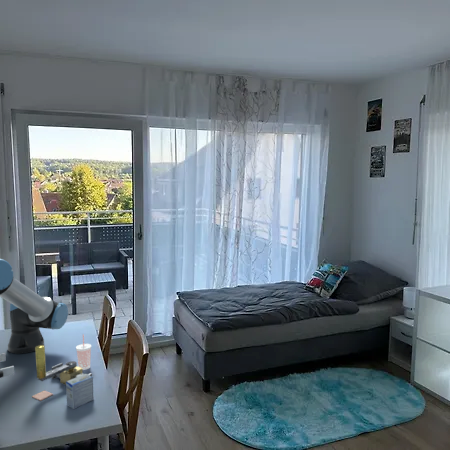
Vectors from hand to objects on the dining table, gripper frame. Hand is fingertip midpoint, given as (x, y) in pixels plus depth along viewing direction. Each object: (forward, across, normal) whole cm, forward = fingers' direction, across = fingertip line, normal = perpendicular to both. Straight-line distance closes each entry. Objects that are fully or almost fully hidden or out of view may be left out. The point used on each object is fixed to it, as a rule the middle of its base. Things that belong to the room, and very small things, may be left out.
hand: (9, 363), depth 142 cm
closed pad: (+10, 0, -15) cm, 18 cm away
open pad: (+16, -16, -15) cm, 27 cm away
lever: (+16, -2, -9) cm, 19 cm away
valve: (+22, -4, -15) cm, 27 cm away
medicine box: (+19, +13, -15) cm, 28 cm away
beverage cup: (+30, -14, -15) cm, 36 cm away
